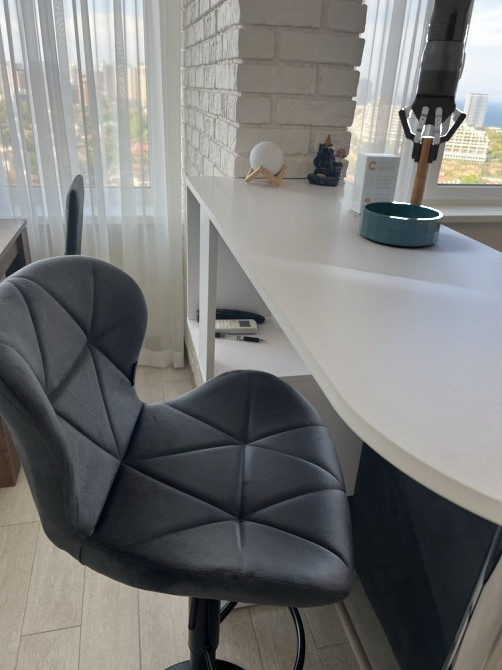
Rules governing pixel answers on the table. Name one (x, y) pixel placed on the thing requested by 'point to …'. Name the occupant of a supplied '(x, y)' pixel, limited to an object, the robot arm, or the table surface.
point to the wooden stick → (421, 170)
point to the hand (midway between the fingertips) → (423, 162)
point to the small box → (374, 179)
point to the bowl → (400, 224)
